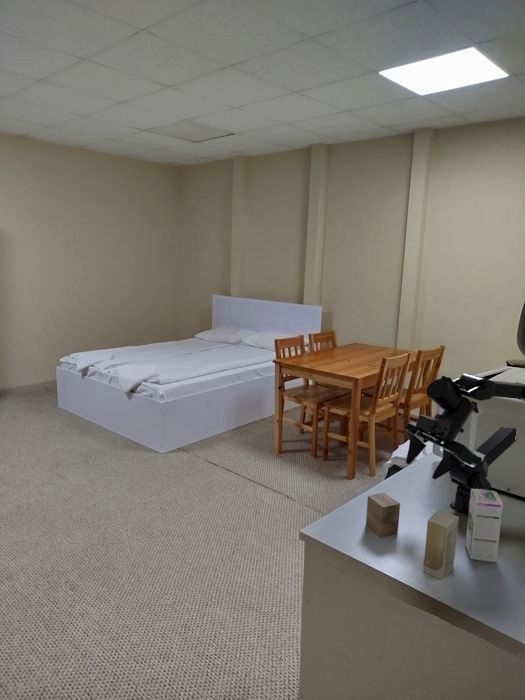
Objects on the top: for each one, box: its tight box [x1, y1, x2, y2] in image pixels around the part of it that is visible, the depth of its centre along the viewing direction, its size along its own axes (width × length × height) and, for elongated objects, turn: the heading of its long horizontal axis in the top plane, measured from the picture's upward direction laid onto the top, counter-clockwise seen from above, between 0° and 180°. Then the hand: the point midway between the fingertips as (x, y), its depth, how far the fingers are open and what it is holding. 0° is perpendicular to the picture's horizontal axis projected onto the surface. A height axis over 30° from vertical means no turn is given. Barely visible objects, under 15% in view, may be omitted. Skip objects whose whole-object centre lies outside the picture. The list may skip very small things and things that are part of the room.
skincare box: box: [422, 509, 460, 581], centre depth 104 cm, size 6×4×12 cm
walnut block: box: [365, 492, 401, 539], centre depth 119 cm, size 5×6×8 cm
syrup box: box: [465, 489, 504, 563], centre depth 110 cm, size 6×6×14 cm
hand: (419, 470), depth 121 cm, fingers open, 9 cm apart
